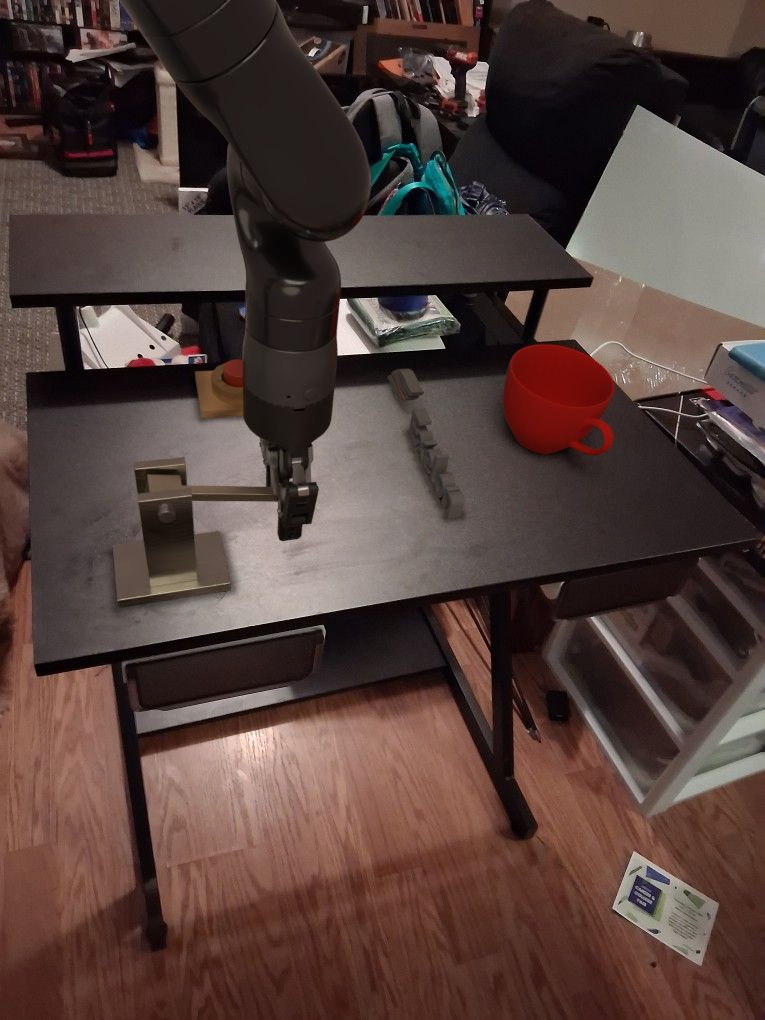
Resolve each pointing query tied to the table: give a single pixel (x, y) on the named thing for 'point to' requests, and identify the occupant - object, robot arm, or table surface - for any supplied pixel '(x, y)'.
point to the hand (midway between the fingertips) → (283, 515)
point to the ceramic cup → (556, 399)
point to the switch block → (217, 395)
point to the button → (233, 373)
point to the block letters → (428, 444)
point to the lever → (212, 490)
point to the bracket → (168, 545)
